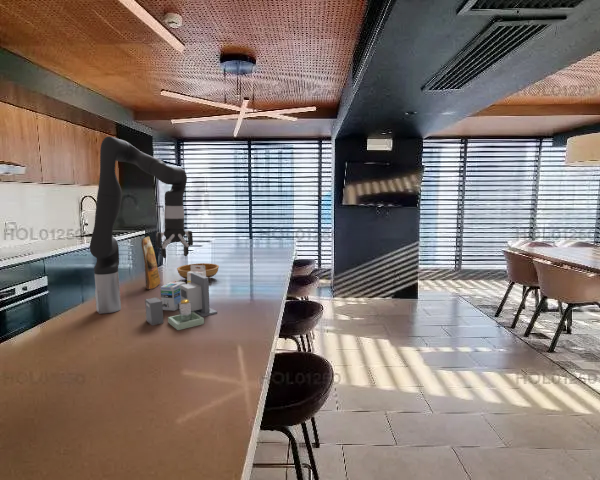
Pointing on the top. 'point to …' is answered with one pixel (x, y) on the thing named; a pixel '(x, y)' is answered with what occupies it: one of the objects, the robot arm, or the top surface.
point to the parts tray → (194, 322)
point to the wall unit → (198, 294)
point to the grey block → (154, 311)
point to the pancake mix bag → (150, 264)
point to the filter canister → (185, 311)
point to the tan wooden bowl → (209, 268)
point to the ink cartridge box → (196, 270)
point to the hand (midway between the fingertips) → (175, 256)
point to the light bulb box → (171, 295)
